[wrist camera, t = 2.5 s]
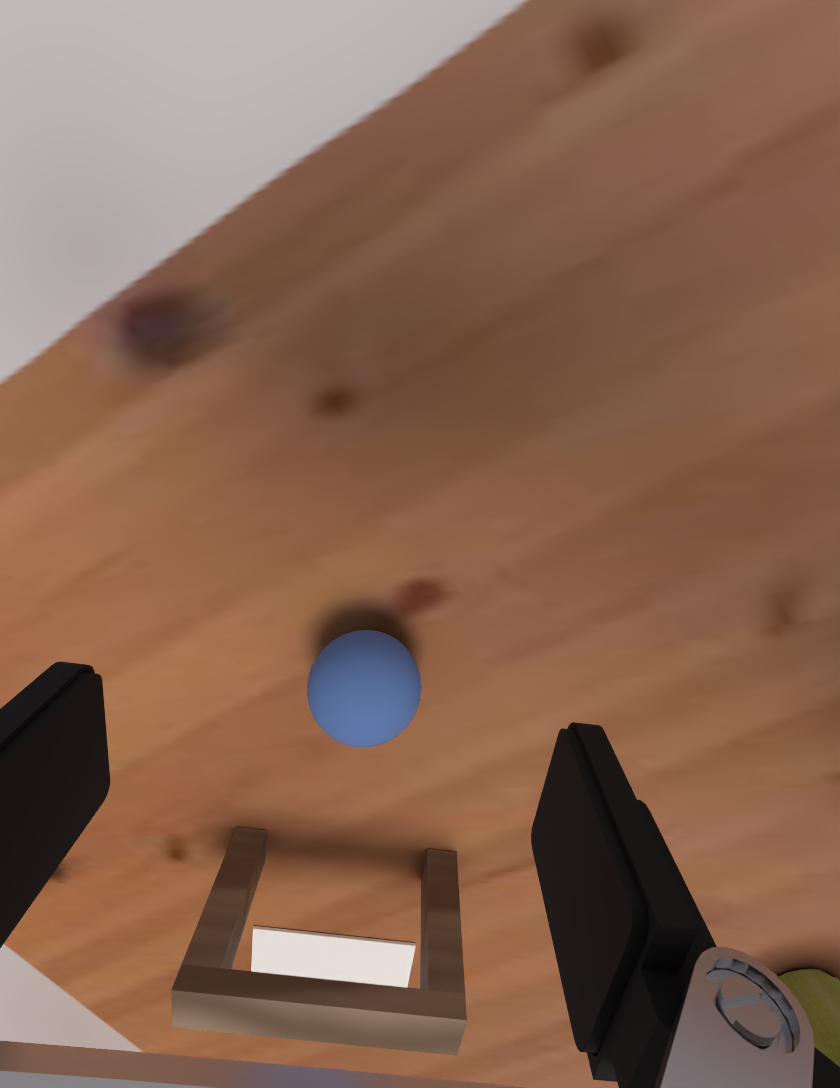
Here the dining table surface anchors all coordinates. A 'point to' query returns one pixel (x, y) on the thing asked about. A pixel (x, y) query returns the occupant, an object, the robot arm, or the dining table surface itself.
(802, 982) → the plant pot
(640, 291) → the dining table surface
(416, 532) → the dining table surface
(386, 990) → the bridge
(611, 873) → the robot arm
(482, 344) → the dining table surface
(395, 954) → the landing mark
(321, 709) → the ball
